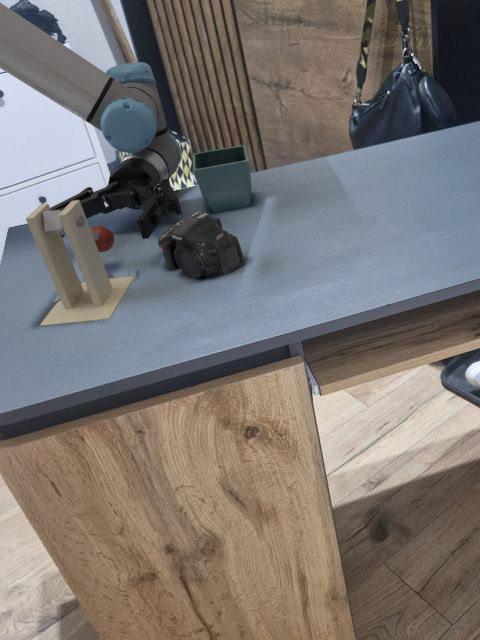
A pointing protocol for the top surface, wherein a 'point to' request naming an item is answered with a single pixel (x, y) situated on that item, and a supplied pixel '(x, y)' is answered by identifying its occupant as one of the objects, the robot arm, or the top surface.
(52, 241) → the stand
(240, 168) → the flower pot
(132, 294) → the top surface
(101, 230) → the lever
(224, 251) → the camera
